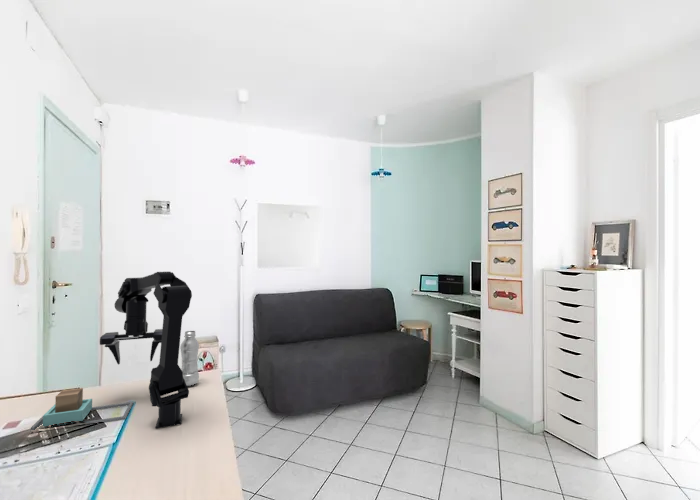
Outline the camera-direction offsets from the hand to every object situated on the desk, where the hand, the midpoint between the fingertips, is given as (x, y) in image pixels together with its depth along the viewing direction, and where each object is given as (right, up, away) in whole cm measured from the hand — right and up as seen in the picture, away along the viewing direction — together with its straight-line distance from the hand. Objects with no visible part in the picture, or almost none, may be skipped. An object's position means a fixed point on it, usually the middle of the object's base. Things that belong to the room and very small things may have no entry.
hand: (135, 362), depth 113 cm
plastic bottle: (+11, -14, +15) cm, 23 cm away
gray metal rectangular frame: (-7, -13, -11) cm, 18 cm away
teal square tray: (-11, -13, -13) cm, 21 cm away
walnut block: (-11, -10, -13) cm, 20 cm away
